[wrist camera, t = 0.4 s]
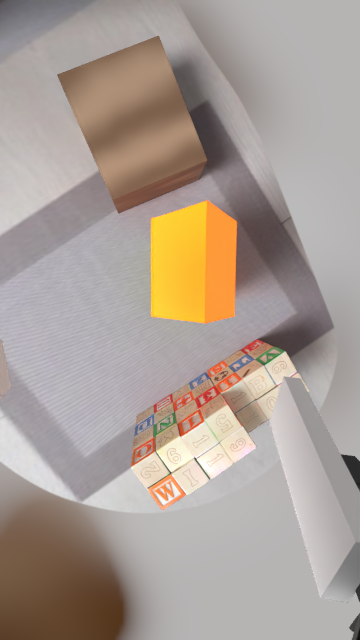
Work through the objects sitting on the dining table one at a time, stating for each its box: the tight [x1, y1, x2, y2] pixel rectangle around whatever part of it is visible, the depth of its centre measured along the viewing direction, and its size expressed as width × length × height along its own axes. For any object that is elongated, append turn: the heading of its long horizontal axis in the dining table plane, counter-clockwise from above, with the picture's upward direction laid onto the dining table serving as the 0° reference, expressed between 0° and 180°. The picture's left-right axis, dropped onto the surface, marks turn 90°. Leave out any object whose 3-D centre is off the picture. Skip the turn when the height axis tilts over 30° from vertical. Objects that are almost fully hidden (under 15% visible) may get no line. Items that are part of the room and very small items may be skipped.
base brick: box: [57, 36, 207, 213], centre depth 35 cm, size 14×12×6 cm
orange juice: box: [150, 200, 237, 323], centre depth 30 cm, size 8×9×20 cm
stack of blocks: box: [131, 339, 309, 510], centre depth 36 cm, size 21×6×12 cm, turn 122°
